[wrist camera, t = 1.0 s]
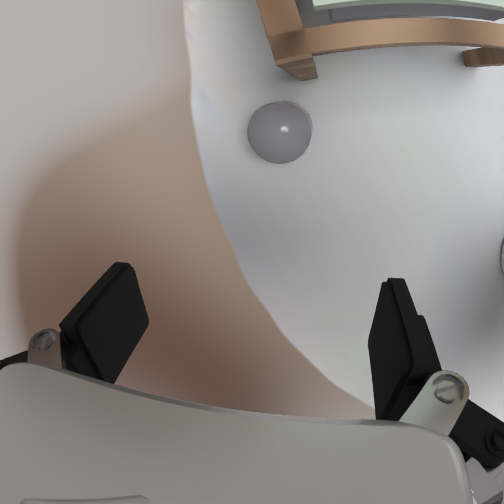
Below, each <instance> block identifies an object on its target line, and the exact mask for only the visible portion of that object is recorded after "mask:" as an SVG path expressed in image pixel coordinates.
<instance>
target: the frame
mask: <svg viewBox="0 0 504 504" xmlns="http://www.w3.org/2000/svg"><path fill="white" fill-rule="evenodd" d="M256 1H257V4H258V7H259V10H260V13H261V16H262V20H263V23H264V26H265V29H266V33H267V36H268V39H269V42H270V46H271V49H272V53H273V56H274V60H275V63H276V65H277V66H279V67H280V68H282V69H284V70H285V71H287V72H288V73H290V74H292V75H293V76H295V77H296V78H298V79H299V80H301V81H304V80H309V79H314V78H318V76H317V72H316V68H315V65H314V61H313V57H312V56H318V55H324V54H330V53H337V52H344V51H352V50H360V49H370V48H381V47H395V46H418V45H451V46H473V47H482V48H477V49H472V50H467V51H463V56H464V60H465V64H466V67H484V66H502V65H504V24H497V23H490V22H483V21H474V20H463V19H448V18H389V19H373V20H362V21H352V22H344V23H336V24H329V25H323V26H316V27H311V28H305V29H304V27H303V24H302V21H301V18H300V15H299V11H298V8H297V5H296V2H295V0H256Z"/></svg>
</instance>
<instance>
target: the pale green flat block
mask: <svg viewBox="0 0 504 504" xmlns="http://www.w3.org/2000/svg"><path fill="white" fill-rule="evenodd" d="M311 1H312V4H313V7H314V10H315V11H319V10H326V9H328V12H329V15H330V18H331V22H333V21H340V20H348V19H358V18H368V17H382V16H408V15H427V16H452V17H465V18H475V19H484V20H491V21H495V20H498V19H501V18H504V0H311Z"/></svg>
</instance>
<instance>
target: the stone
mask: <svg viewBox="0 0 504 504" xmlns="http://www.w3.org/2000/svg"><path fill="white" fill-rule="evenodd" d="M311 134H312V121H311V118H310V116H309V114H308V113H307V112H306V110H305V109H304V108H303V107H301V106H300V105H298V104H296V103H293V102H288V101H281V102H276V103H271V104H267V105H265V106H263V107H261V108H260V109H258V110H257V111H256V112H255V113H254V114H253V116H252V117H251V119H250V122H249V125H248V139H249V143H250V145H251V147H252V148H253V150H254V151H255V152H256V154H258V155H259V156H260V157H261V158H263V159H264V160H266V161H269V162H272V163H288V162H291V161H294V160H295V159H297V158H299V157H300V156H301V155H302V154H303V153H304V152H305V150H306V149H307V147H308V145H309V142H310V138H311Z"/></svg>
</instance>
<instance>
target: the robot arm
mask: <svg viewBox="0 0 504 504" xmlns="http://www.w3.org/2000/svg"><path fill="white" fill-rule="evenodd" d="M501 263H502V270H503V273H504V244H503V249H502V257H501ZM148 324H149V319H148V315H147V312H146V309H145V305H144V302H143V299H142V295H141V292H140V288H139V285H138V281H137V277H136V274H135V270H134V268H133V267H131V265H130V264H129V263H123V262H115V263H114V264H113V265H112V266H111V267H110V268H109V269H108V270H107V271H106V272H105V273H104V274H103V276H102V277H101V278H100V279H99V280H98V281H97V282H96V283H95V284H94V285H93V286H92V288H91V289H90V290H89V291H88V292H87V293H86V294H85V295H84V296H83V297H82V299H81V300H80V301H79V302H78V303H77V304H76V306H75V307H74V308H73V309H72V310H71V311H70V312H69V314H68V315H67V316H66V317H65V318H64V319H63V321H62V322H61V323H60V324H59V326H60V328H61V332H60V333H59V332H58V331H57V330H56V329H53V328H47V329H43V330H41V331H39V332H37V333H36V334H34V335H33V336H32V338H31V339H30V341H29V344H28V350H27V351H24V352H21V353H19V354H16V355H13V356H11V357H8V358H5V359H3V360H0V504H473V498H472V495H473V497H474V498H475V500H476V502H477V504H504V422H502V421H501V420H499V419H498V418H496V417H495V416H493V415H492V414H490V413H489V412H487V411H486V410H484V409H482V408H481V407H479V406H478V405H476V404H475V403H473V402H472V401H470V400H469V399H468V397H469V387H468V384H467V382H466V381H465V380H464V378H463V377H462V376H460V375H459V374H458V373H455V372H453V371H448V370H443V371H442V369H441V366H440V362H439V359H438V356H437V353H436V350H435V347H434V344H433V341H432V338H431V335H430V332H429V329H428V326H427V323H426V320H425V318H424V316H422V315H418V314H417V312H416V309H415V306H414V303H413V301H412V298H411V295H410V292H409V290H408V287H407V285H406V282H405V280H404V279H403V278H388V280H387V282H382V285H381V290H380V294H379V298H378V303H377V307H376V311H375V315H374V319H373V323H372V327H371V330H370V334H369V339H368V349H369V357H370V365H371V373H372V382H373V392H374V403H375V415H376V420H368V419H335V418H315V417H300V416H286V415H275V414H265V413H256V412H248V411H240V410H233V409H227V408H220V407H214V406H208V405H202V404H197V403H191V402H186V401H181V400H176V399H171V398H167V397H162V396H158V395H154V394H149V393H145V392H141V391H137V390H133V389H129V388H126V387H122V386H118V385H114V383H115V381H116V379H117V378H118V376H119V374H120V372H121V371H122V369H123V367H124V366H125V364H126V362H127V360H128V359H129V357H130V355H131V354H132V352H133V350H134V348H135V347H136V345H137V344H138V342H139V340H140V339H141V337H142V335H143V334H144V332H145V330H146V328H147V327H148ZM471 489H472V490H473V491H474V493H473V494H472V491H471Z"/></svg>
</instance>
